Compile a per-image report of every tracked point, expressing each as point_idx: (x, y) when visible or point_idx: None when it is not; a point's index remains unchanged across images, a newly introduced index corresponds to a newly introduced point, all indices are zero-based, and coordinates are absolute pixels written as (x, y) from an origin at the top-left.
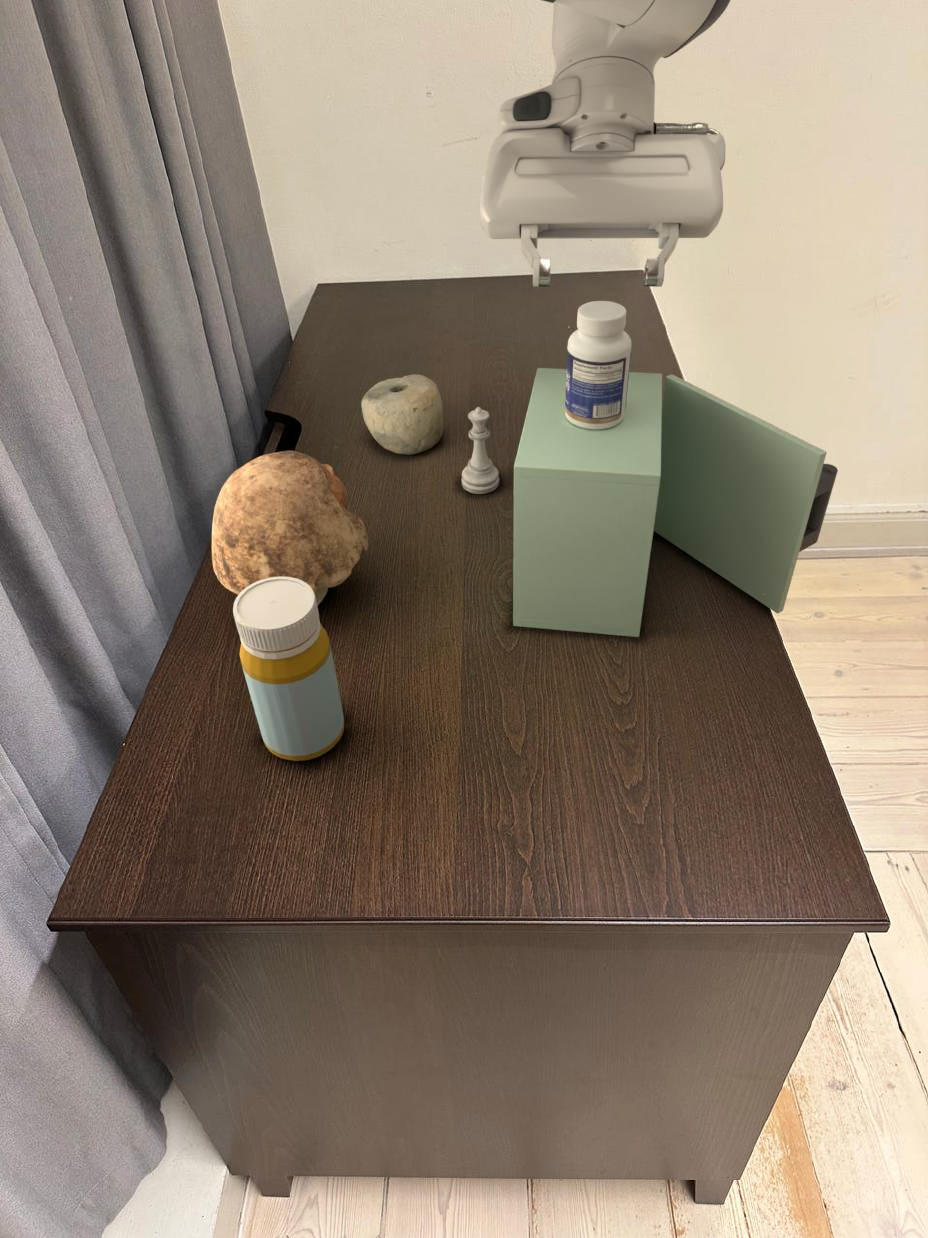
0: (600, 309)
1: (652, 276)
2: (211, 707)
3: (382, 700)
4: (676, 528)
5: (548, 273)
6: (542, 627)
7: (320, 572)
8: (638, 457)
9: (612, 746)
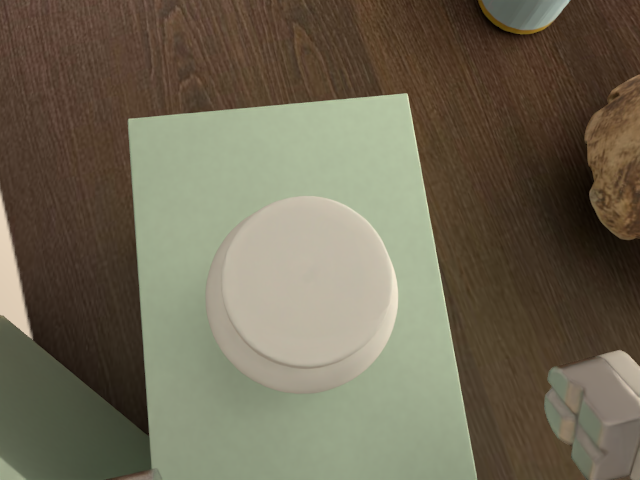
0: (314, 283)
1: (126, 478)
2: (624, 12)
3: (459, 59)
4: None
5: (571, 373)
6: None
7: (619, 95)
8: (177, 172)
9: (199, 52)
